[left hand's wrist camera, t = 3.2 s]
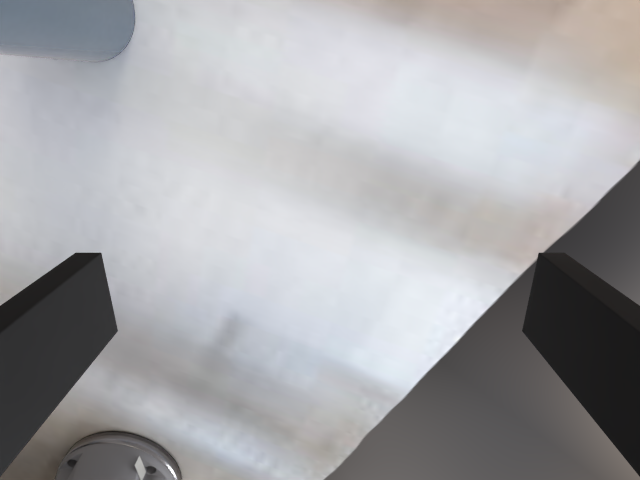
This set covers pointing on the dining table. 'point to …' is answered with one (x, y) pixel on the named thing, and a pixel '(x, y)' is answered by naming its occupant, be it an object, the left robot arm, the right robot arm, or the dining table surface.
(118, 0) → the jar
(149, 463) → the right robot arm
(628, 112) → the dining table surface
